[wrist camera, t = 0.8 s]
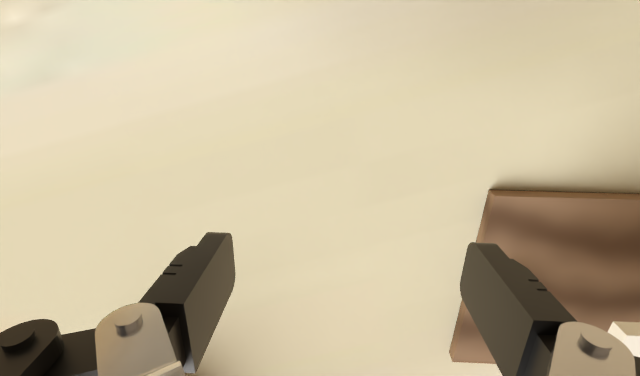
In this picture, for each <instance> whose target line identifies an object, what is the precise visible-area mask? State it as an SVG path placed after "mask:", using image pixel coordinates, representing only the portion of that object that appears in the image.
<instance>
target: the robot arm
mask: <svg viewBox="0 0 640 376" xmlns="http://www.w3.org/2000/svg"><path fill="white" fill-rule="evenodd" d="M234 282H235V264H234V253H233V242H232V236H231V234H230V233H215V232H208V233H206V234H205V236H204V237H203V238H202V240H201V241H200V242H199V244H198V245H197V246H190V247H188V248H187V249H185V250H184V251H182V252H180V253H179V254H177V256H176V257H175V258H174V259H173V261H172V262H171V263H170V265H169V266H168V267H167V268H166V269H165V270H164V272H163V275H160V277H159V278H158V279H157V280H156V281H155V283H154V284H153V285H152V286H151V288H150V289H149V290H148V291H147V293H146V294H145V295H144V296H143V297H142V299H141V300H140V301H139V302H138V303H135V304H130V305H126V306H124V307H121V308H119V309H117V310H115V311H113V312H111V313H110V314H109V315H107V316H106V317H105V318H104V319H103V320H102V321H101V322H100V323H99V324H98V326H97V328H95V329H90V330H85V331H80V332H74V333H69V334H64V335H61V334H60V331H59V328H58V325H57V324H56V323H55V322H54V321H52V320H48V319H38V320H32V321H28V322H24V323H21V324H18V325H16V326H13V327H11V328H9V329H7V330H5V331H3V332H1V333H0V376H185V373H196V371H197V369H198V366H199V364H200V362H201V360H202V357H203V355H204V353H205V351H206V348H207V346H208V344H209V342H210V339H211V337H212V335H213V333H214V331H215V328H216V326H217V324H218V322H219V319H220V317H221V315H222V313H223V310H224V308H225V306H226V304H227V301H228V299H229V297H230V295H231V292H232V290H233V287H234ZM460 291H461V296H462V300H463V302H464V304H465V306H466V307H467V309H468V311H469V313H470V315H471V317H472V319H473V321H474V323H475V324H476V326H477V328H478V330H479V332H480V334H481V336H482V338H483V339H484V341H485V343H486V345H487V347H488V349H489V351H490V353H491V355H492V356H493V358H494V360H495V362H496V364H497V366H498V368H499V370H500V371H501V373H502V375H503V376H640V357H636V356H633V354H632V352H631V351H630V350H629V348H628V347H627V346H626V345H625V344H624V343H622V342H621V341H620V340H619V339H617V338H616V337H614V336H613V335H611V334H610V333H608V332H606V331H604V330H602V329H600V328H597V327H595V326H592V325H589V324H586V323H581V322H577V320H576V319H575V318H574V317H573V316H572V315H571V314H570V313H569V312H568V311H567V310H566V309H565V307H564V306H563V305H562V304H561V303H560V302H559V301H558V300H557V299H556V298H555V297H554V296H553V295H552V293H551V292H550V291H547V288H546V287H545V286H544V285H543V284H542V283H541V282H539V279H538V278H537V277H536V276H535V275H534V274H533V273H532V272H531V271H530V270H529V269H528V268H527V267H525V266H523V265H522V264H520V263H519V262H517V261H516V260H514V259H509V257H508V256H507V255H506V254H505V253H504V252H503V251H502V249H501V248H500V247H499V246H498V245H497V244H495V243H475V242H472V243H470V244H469V245H468V248H467V252H466V257H465V262H464V267H463V272H462V276H461V282H460Z"/></svg>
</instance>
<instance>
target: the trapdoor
mask: <svg viewBox="0 0 640 376" xmlns="http://www.w3.org/2000/svg"><path fill="white" fill-rule="evenodd" d="M608 333H610V334H611V335H613V336H614V337H616V338H617V339H619V340H620V341H621V342H622V343H624V344H625V345H626V346H627V347H628V348H629V350H630V351H631V352H632V354H633V356H636V357H640V322H617V321H613V322H612V324H611V326H610V328H609V330H608Z"/></svg>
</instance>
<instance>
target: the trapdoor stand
mask: <svg viewBox="0 0 640 376" xmlns="http://www.w3.org/2000/svg"><path fill="white" fill-rule="evenodd" d="M476 243H495V244H497V245H498V246H499V247H500V248H501V249H502V251H503V252H504V253H505V254H506V255H507V256H508V257H509V259H514V260H516V261H517V262H519V263H520V264H522V265H523V266H525V267H527V268H528V269H529V270H530V271H531V272H532V273H533V274H534V275H535V276H536V277H537V278H538V279H539V282H541V283H542V284H543V285H544V286H545V287H546V288H547V291H550V292H551V293H552V295H553V296H554V297H555V298H556V299H557V300H558V301H559V302H560V303H561V304H562V305H563V306H564V307H565V309H566V310H567V311H568V312H569V313H570V314H571V315H572V316H573V317H574V318H575V319H576V320H577V322H581V323H586V324H589V325H592V326H595V327H597V328H600V329H602V330H604V331H606V332H608V330H609V328H610V326H611V324H612V322H613V321H617V322H640V194H625V193H586V192H547V191H508V190H489V191H488V195H487V200H486V204H485V208H484V212H483V216H482V220H481V224H480V228H479V232H478V236H477V240H476ZM449 353H450V356H451V359H452V361H453V362H468V363H490V364H496V362H495V360H494V358H493V356H492V355H491V353H490V351H489V349H488V347H487V345H486V343H485V341H484V339H483V338H482V336H481V334H480V332H479V330H478V328H477V326H476V324H475V323H474V321H473V319H472V317H471V315H470V313H469V311H468V309H467V307H466V306H465V304H464V302H463V300H462V302H461V306H460V310H459V314H458V318H457V322H456V326H455V330H454V335H453V339H452V343H451V347H450V351H449Z"/></svg>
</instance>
